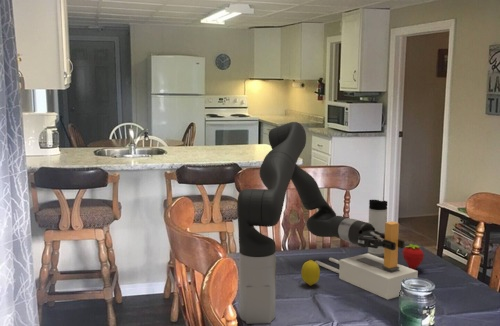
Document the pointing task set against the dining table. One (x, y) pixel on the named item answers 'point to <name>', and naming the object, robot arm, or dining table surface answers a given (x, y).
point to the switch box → (374, 275)
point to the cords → (328, 265)
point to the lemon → (310, 272)
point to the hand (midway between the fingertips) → (399, 245)
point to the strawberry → (413, 256)
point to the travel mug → (377, 222)
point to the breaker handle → (389, 255)
